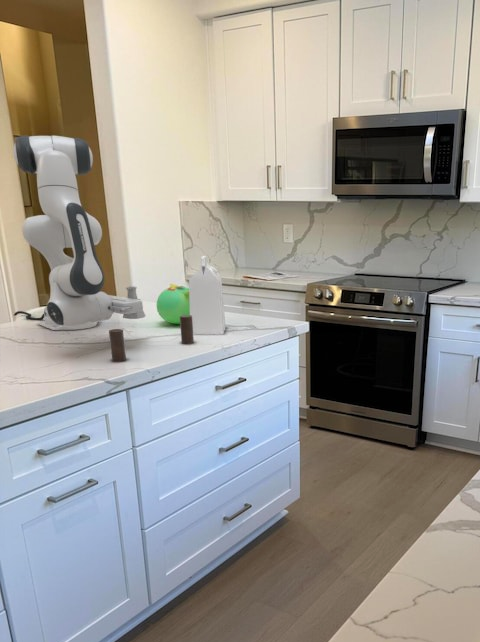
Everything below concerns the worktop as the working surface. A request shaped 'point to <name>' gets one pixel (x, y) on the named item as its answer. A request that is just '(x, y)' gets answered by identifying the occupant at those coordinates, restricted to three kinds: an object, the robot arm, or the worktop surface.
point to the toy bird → (173, 303)
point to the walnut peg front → (117, 345)
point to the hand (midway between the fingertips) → (134, 300)
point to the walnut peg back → (186, 329)
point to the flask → (133, 295)
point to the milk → (206, 300)
